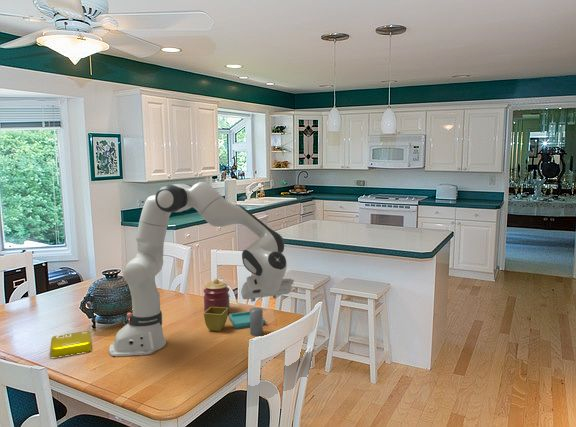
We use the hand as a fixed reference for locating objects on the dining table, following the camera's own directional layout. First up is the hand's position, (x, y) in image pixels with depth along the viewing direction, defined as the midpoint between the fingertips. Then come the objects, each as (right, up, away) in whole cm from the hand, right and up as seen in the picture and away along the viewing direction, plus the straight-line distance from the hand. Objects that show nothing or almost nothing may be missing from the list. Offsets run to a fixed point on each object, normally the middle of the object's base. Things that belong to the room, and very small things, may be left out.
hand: (263, 298), depth 186 cm
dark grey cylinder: (-4, -18, +14) cm, 23 cm away
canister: (-26, -15, +42) cm, 51 cm away
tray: (-10, -16, +28) cm, 34 cm away
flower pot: (-23, -18, +20) cm, 35 cm away
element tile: (-80, -21, +1) cm, 82 cm away
